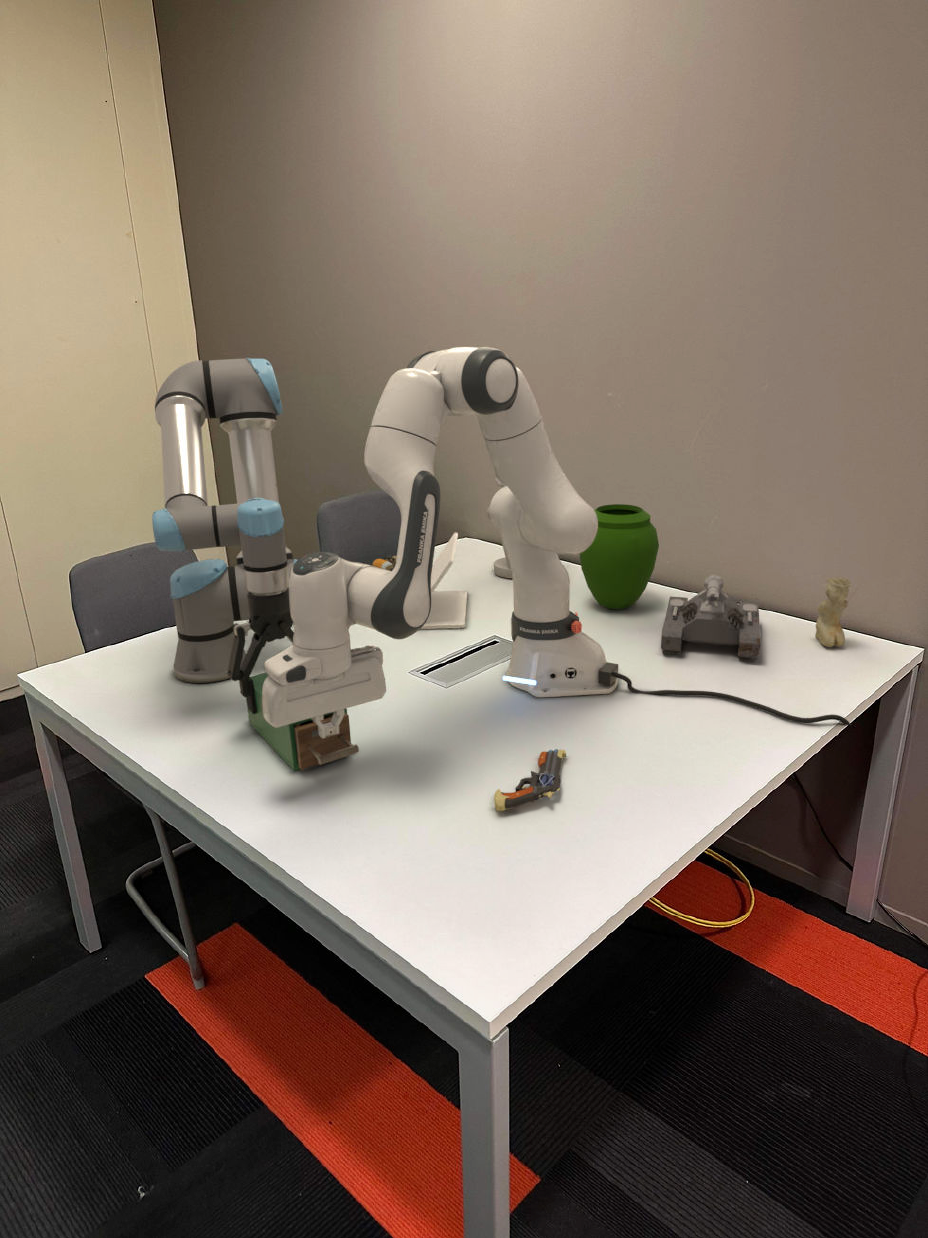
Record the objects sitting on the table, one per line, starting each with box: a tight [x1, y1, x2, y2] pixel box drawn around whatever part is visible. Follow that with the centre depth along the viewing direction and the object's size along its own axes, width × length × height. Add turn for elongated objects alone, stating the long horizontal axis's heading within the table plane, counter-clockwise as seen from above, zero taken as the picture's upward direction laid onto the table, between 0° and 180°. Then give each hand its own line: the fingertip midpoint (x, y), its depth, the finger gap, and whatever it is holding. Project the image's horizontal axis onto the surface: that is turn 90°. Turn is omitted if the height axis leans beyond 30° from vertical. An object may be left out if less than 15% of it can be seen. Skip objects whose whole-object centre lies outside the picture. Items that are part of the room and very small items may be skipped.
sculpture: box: [814, 576, 852, 648], centre depth 185 cm, size 6×7×15 cm
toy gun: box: [493, 748, 567, 812], centre depth 136 cm, size 3×19×10 cm
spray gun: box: [371, 555, 397, 571], centre depth 245 cm, size 4×17×15 cm
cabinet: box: [245, 671, 348, 772], centre depth 152 cm, size 22×10×9 cm, turn 33°
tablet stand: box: [420, 531, 468, 630], centre depth 211 cm, size 18×25×17 cm
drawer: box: [294, 712, 360, 771], centre depth 148 cm, size 26×9×7 cm, turn 33°
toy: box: [660, 574, 761, 660], centre depth 189 cm, size 25×20×15 cm
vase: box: [578, 503, 660, 610], centre depth 210 cm, size 20×20×24 cm
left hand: (281, 702), depth 158 cm, fingers closed on cabinet, 10 cm apart
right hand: (329, 735), depth 139 cm, fingers closed
